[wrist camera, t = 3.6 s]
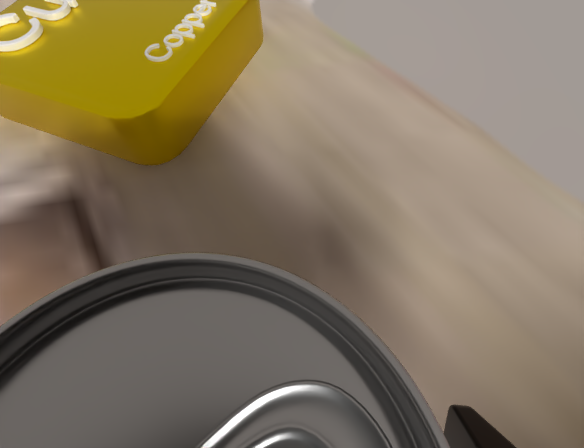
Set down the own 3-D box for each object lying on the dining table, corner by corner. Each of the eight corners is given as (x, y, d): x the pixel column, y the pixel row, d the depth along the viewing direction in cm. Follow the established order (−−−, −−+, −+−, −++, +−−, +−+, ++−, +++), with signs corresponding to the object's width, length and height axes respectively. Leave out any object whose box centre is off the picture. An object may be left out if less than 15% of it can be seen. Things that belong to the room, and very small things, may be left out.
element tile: (169, 178, 20) (133, 117, 16) (-12, 115, 24) (-81, 51, 20) (273, 35, 27) (266, -35, 23) (119, 1, 30) (89, -65, 26)
